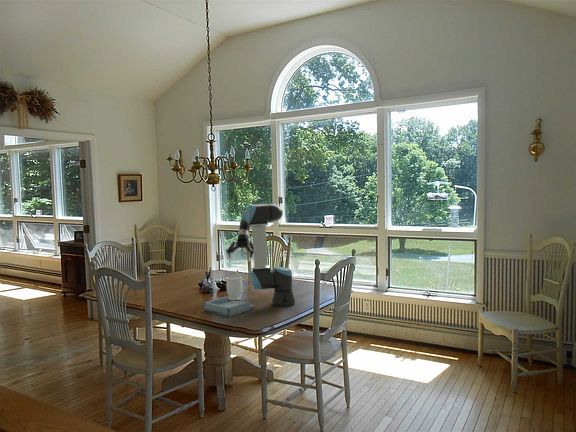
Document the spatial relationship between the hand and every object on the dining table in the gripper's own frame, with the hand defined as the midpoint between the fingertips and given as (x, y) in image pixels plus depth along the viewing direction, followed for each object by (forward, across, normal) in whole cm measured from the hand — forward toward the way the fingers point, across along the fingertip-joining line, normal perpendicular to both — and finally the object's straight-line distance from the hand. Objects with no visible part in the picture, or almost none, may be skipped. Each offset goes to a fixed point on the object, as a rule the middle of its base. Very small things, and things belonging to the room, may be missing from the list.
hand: (239, 261), depth 306 cm
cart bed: (+42, -1, +9) cm, 43 cm away
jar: (+26, +1, -8) cm, 27 cm away
